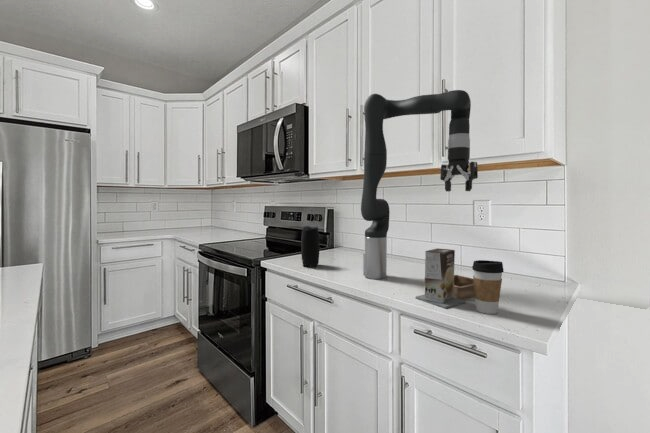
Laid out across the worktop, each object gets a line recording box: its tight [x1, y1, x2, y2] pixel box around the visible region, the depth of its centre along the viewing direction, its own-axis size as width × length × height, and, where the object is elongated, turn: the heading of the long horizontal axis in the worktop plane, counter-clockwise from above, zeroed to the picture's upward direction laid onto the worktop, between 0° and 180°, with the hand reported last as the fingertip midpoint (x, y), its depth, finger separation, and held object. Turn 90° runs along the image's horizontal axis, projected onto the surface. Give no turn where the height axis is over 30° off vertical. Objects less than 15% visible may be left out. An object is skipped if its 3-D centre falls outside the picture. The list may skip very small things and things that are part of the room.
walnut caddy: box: [454, 274, 475, 300], centre depth 117 cm, size 12×14×4 cm
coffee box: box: [424, 248, 456, 303], centre depth 107 cm, size 9×6×16 cm
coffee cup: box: [471, 259, 505, 315], centre depth 97 cm, size 8×8×15 cm
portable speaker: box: [300, 225, 320, 268], centre depth 161 cm, size 9×9×20 cm
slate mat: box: [415, 293, 467, 310], centre depth 107 cm, size 12×10×1 cm
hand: (457, 191), depth 121 cm, fingers open, 8 cm apart
